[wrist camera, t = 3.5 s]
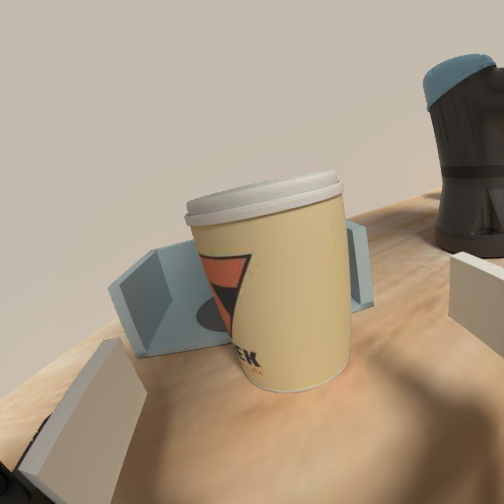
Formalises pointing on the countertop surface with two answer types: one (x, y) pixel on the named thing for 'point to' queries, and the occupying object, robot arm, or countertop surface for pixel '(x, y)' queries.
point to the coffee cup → (280, 276)
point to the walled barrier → (198, 297)
